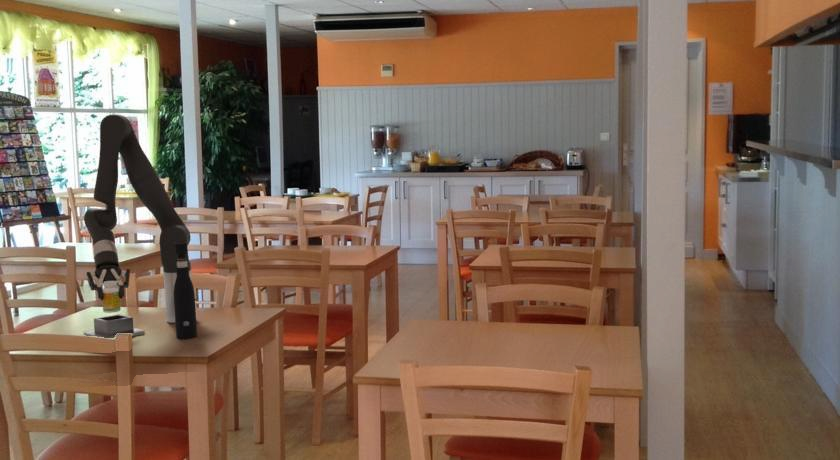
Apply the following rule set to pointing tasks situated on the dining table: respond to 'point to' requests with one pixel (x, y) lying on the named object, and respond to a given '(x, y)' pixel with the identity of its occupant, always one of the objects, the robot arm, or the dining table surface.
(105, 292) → the supplement bottle
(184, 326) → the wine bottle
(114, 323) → the square socket
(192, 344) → the dining table surface
